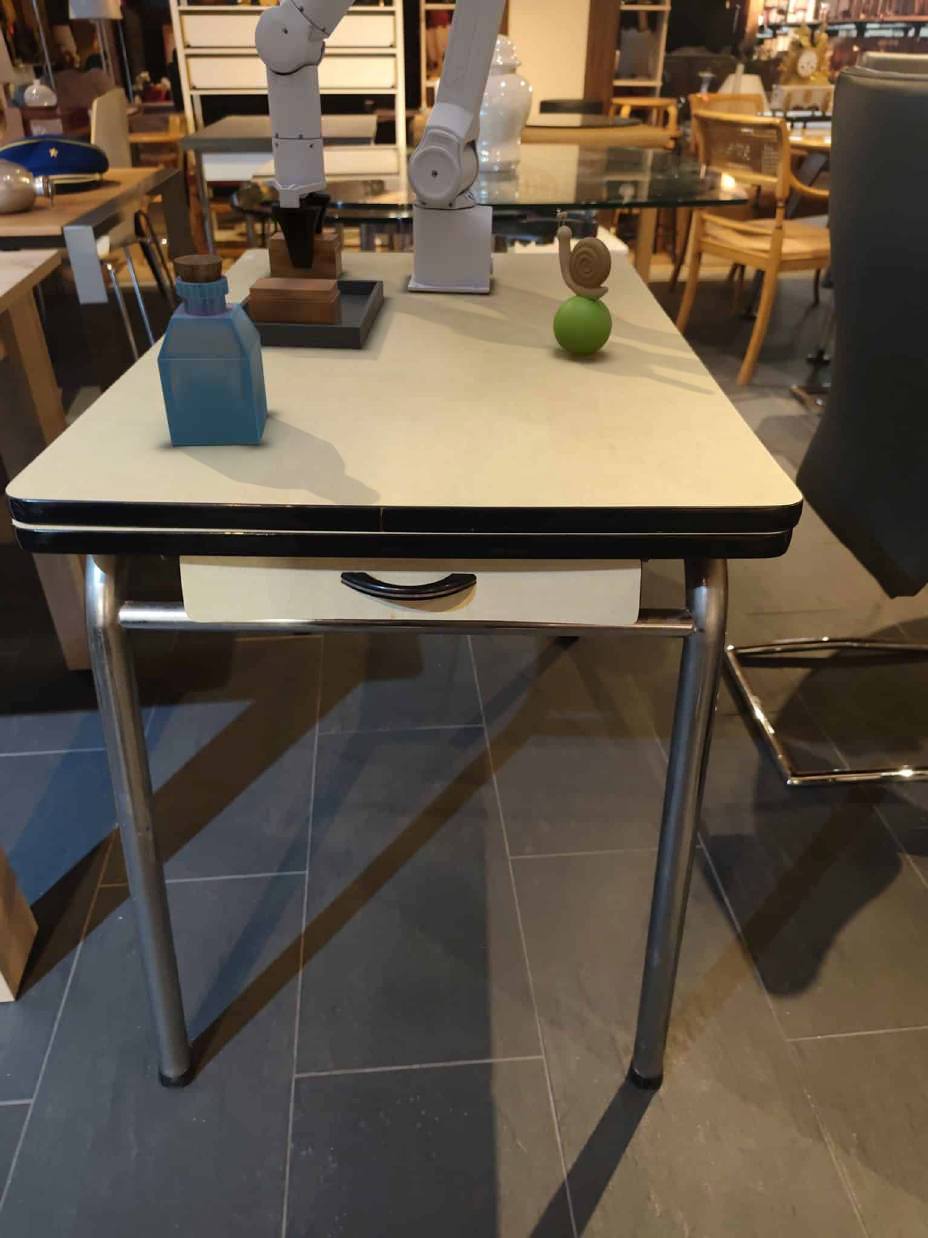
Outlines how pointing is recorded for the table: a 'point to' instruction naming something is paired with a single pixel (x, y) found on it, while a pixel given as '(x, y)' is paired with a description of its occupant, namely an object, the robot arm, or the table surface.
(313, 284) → the brown wooden block
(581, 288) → the snail figurine
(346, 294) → the tray
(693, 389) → the table surface
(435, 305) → the table surface
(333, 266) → the brown lidded wooden box
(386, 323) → the table surface
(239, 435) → the perfume bottle
